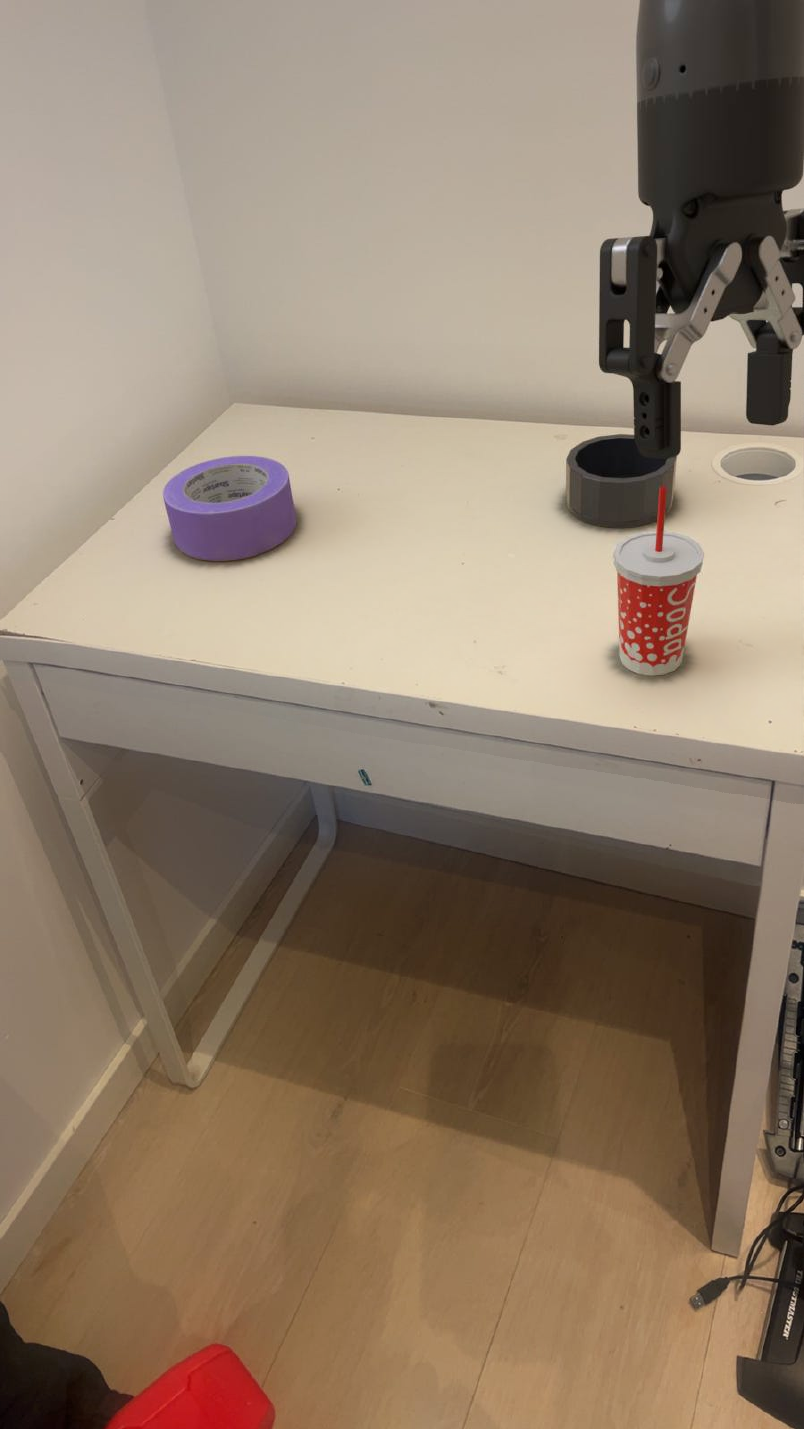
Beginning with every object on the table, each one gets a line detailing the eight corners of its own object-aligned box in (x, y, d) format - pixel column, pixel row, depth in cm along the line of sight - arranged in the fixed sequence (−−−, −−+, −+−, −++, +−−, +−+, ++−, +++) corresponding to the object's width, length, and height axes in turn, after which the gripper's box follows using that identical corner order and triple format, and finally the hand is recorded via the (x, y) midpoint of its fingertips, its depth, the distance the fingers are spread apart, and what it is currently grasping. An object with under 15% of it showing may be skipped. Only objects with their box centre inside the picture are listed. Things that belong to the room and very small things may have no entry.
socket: (657, 473, 100) (660, 429, 97) (684, 521, 92) (689, 475, 90) (558, 484, 100) (558, 440, 97) (577, 533, 92) (578, 487, 90)
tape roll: (228, 492, 105) (218, 445, 102) (321, 513, 100) (313, 465, 97) (149, 547, 98) (135, 499, 95) (244, 573, 92) (233, 523, 89)
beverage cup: (628, 689, 75) (638, 516, 66) (596, 643, 79) (602, 476, 71) (707, 671, 76) (728, 498, 67) (671, 626, 80) (685, 459, 71)
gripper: (679, 75, 41) (679, 479, 48) (887, 62, 48) (860, 418, 55) (549, 104, 47) (566, 462, 54) (752, 89, 54) (743, 408, 61)
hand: (715, 439), depth 55 cm, fingers open, 8 cm apart
